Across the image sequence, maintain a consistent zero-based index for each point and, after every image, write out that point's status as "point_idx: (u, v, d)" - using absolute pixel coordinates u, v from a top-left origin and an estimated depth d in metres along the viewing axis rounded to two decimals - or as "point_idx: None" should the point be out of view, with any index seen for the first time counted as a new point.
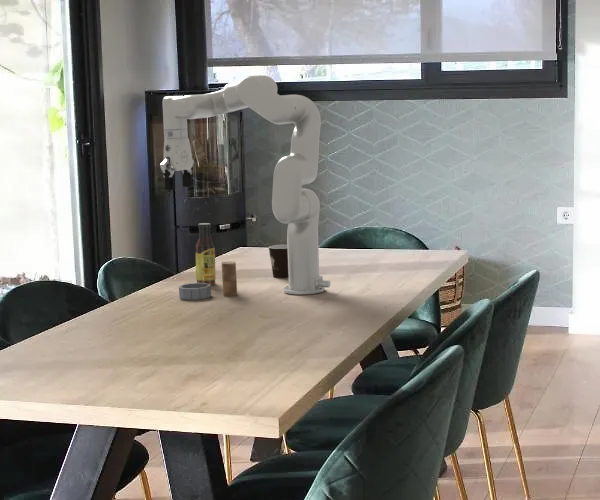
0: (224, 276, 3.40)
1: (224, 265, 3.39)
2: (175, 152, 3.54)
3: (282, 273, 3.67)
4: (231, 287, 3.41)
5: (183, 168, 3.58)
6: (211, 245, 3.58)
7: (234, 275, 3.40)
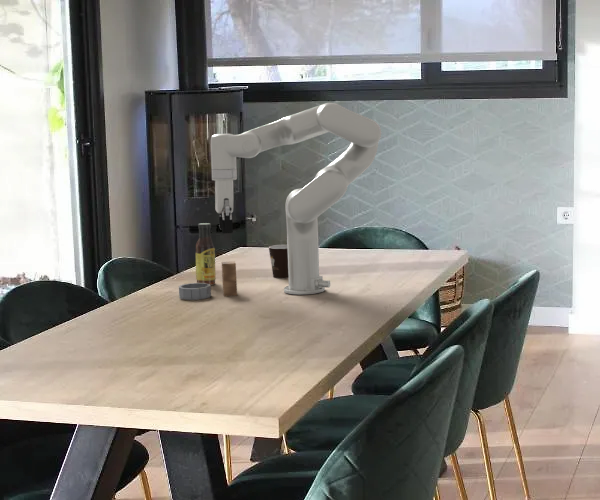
0: (224, 276, 3.40)
1: (224, 265, 3.39)
2: None
3: (282, 273, 3.67)
4: (231, 287, 3.41)
5: None
6: (211, 245, 3.58)
7: (234, 275, 3.40)
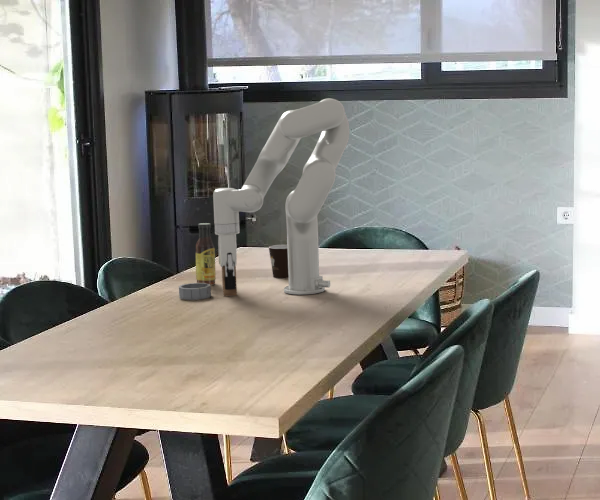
0: (224, 276, 3.40)
1: None
2: None
3: (282, 273, 3.67)
4: None
5: (219, 263, 3.42)
6: (211, 245, 3.58)
7: None
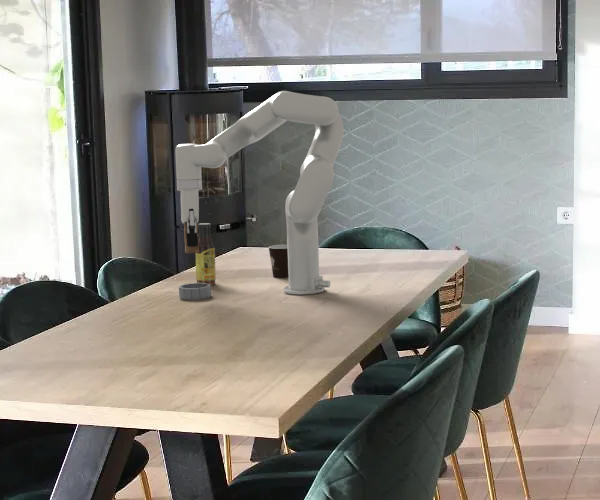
0: (186, 233, 3.36)
1: None
2: None
3: (282, 273, 3.67)
4: None
5: (181, 220, 3.38)
6: (211, 245, 3.58)
7: None
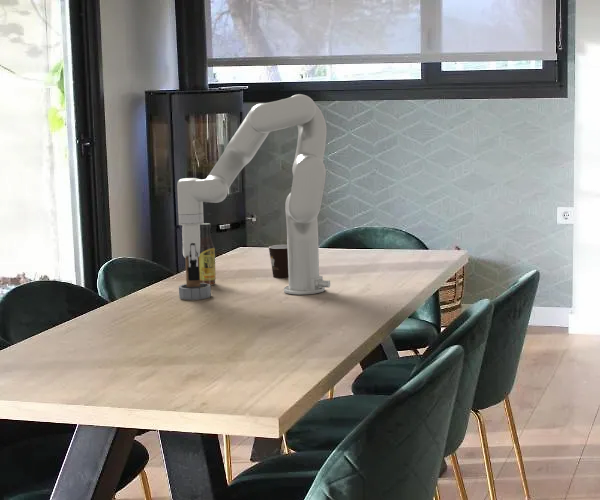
0: (187, 267, 3.38)
1: (187, 256, 3.37)
2: None
3: (282, 273, 3.67)
4: None
5: None
6: (211, 245, 3.58)
7: None
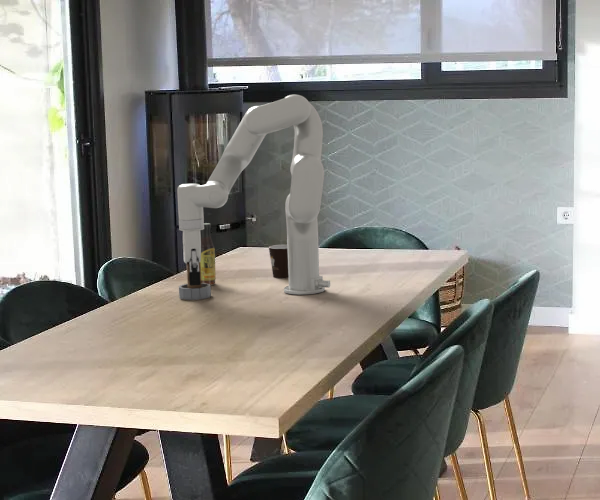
0: None
1: (189, 265, 3.38)
2: None
3: (282, 273, 3.67)
4: None
5: None
6: (211, 245, 3.58)
7: None
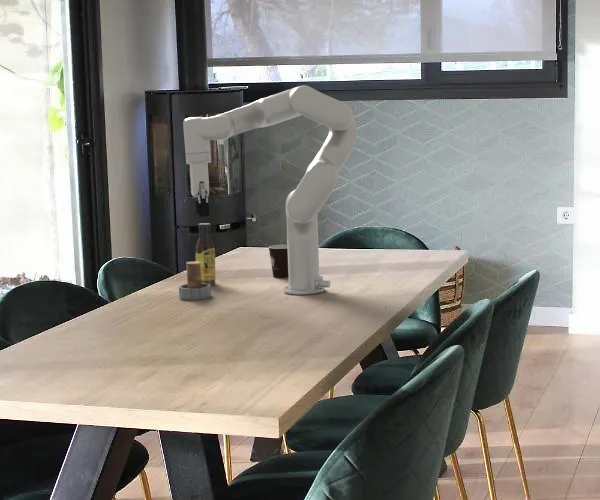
0: (189, 276, 3.38)
1: (189, 265, 3.38)
2: None
3: (282, 273, 3.67)
4: None
5: None
6: (211, 245, 3.58)
7: (199, 275, 3.39)
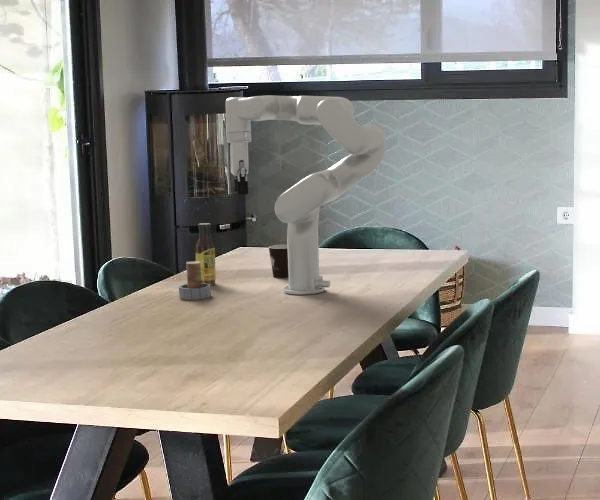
0: (189, 276, 3.38)
1: (189, 265, 3.38)
2: None
3: (282, 273, 3.67)
4: None
5: (231, 172, 3.46)
6: (211, 245, 3.58)
7: (199, 275, 3.39)
